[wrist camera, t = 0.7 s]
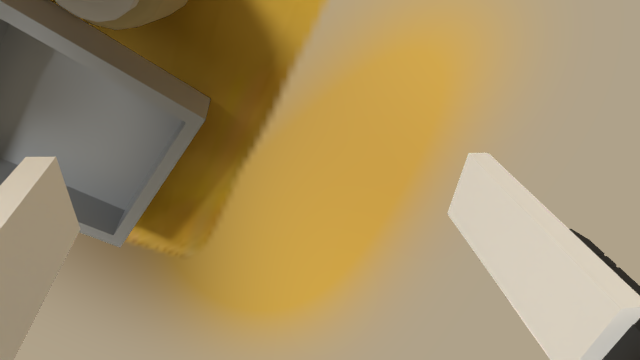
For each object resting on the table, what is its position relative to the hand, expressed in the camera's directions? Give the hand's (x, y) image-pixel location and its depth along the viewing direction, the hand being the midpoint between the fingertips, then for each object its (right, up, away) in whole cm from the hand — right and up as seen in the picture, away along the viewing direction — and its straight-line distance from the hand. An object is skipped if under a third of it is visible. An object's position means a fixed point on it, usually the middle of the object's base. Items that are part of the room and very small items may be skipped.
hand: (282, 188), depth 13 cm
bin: (-22, +6, +24) cm, 33 cm away
